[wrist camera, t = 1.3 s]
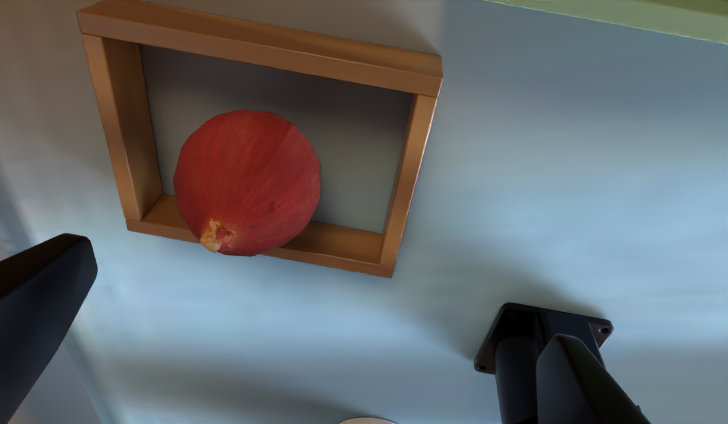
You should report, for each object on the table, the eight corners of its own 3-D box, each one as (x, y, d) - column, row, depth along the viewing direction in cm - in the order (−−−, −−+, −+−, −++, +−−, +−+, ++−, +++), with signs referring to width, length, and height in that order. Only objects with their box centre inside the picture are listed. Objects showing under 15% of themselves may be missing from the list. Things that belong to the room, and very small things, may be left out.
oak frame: (394, 246, 25) (391, 279, 23) (151, 202, 25) (127, 231, 23) (441, 55, 18) (443, 78, 16) (112, -5, 18) (74, 10, 16)
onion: (332, 196, 23) (297, 319, 17) (222, 182, 23) (147, 298, 17) (336, 88, 20) (293, 192, 13) (207, 73, 20) (105, 168, 14)
